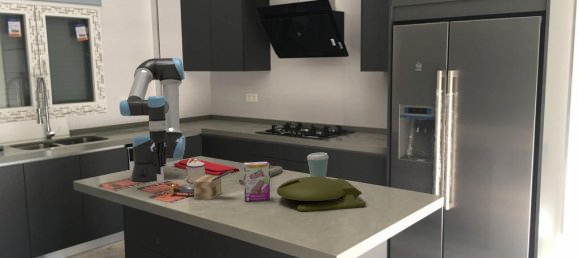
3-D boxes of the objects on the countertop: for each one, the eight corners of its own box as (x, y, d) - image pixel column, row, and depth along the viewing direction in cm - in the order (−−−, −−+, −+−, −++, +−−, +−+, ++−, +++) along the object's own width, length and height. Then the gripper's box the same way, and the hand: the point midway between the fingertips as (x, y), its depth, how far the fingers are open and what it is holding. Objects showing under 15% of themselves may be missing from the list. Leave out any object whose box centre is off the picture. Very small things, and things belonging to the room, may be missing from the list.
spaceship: (345, 189, 229) (345, 169, 228) (367, 208, 199) (367, 184, 198) (272, 194, 223) (271, 173, 222) (283, 214, 193) (283, 190, 192)
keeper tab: (212, 181, 215) (211, 179, 215) (217, 178, 221) (216, 176, 221) (228, 174, 212) (227, 171, 212) (234, 171, 218) (233, 169, 218)
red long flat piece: (217, 177, 260) (217, 170, 260) (173, 167, 288) (172, 161, 287) (239, 172, 272) (239, 165, 271) (194, 163, 299) (194, 157, 299)
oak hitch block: (194, 198, 217) (193, 181, 216) (205, 191, 229) (205, 175, 228) (210, 199, 215) (210, 182, 214) (221, 192, 227) (220, 175, 226)
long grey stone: (233, 186, 244) (250, 189, 239) (233, 176, 243) (249, 179, 238) (271, 169, 274) (286, 172, 269) (271, 160, 272) (286, 162, 268)
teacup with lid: (209, 180, 251) (208, 158, 249) (196, 184, 244) (195, 161, 242) (193, 177, 258) (192, 156, 257) (179, 181, 251) (178, 159, 249)
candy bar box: (245, 202, 210) (244, 164, 208) (243, 199, 215) (242, 162, 213) (270, 200, 212) (269, 163, 210) (268, 197, 217) (267, 161, 215)
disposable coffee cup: (315, 187, 233) (315, 156, 231) (303, 183, 242) (302, 153, 240) (333, 184, 239) (333, 154, 237) (320, 180, 248) (319, 150, 246)
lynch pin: (170, 196, 222) (169, 185, 221) (175, 193, 227) (175, 182, 226) (196, 197, 218) (196, 186, 218) (201, 194, 223) (201, 183, 223)
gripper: (157, 131, 215) (160, 184, 217) (172, 128, 227) (174, 178, 230) (142, 131, 217) (145, 183, 219) (157, 128, 229) (160, 177, 232)
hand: (160, 180), depth 225 cm, fingers closed
